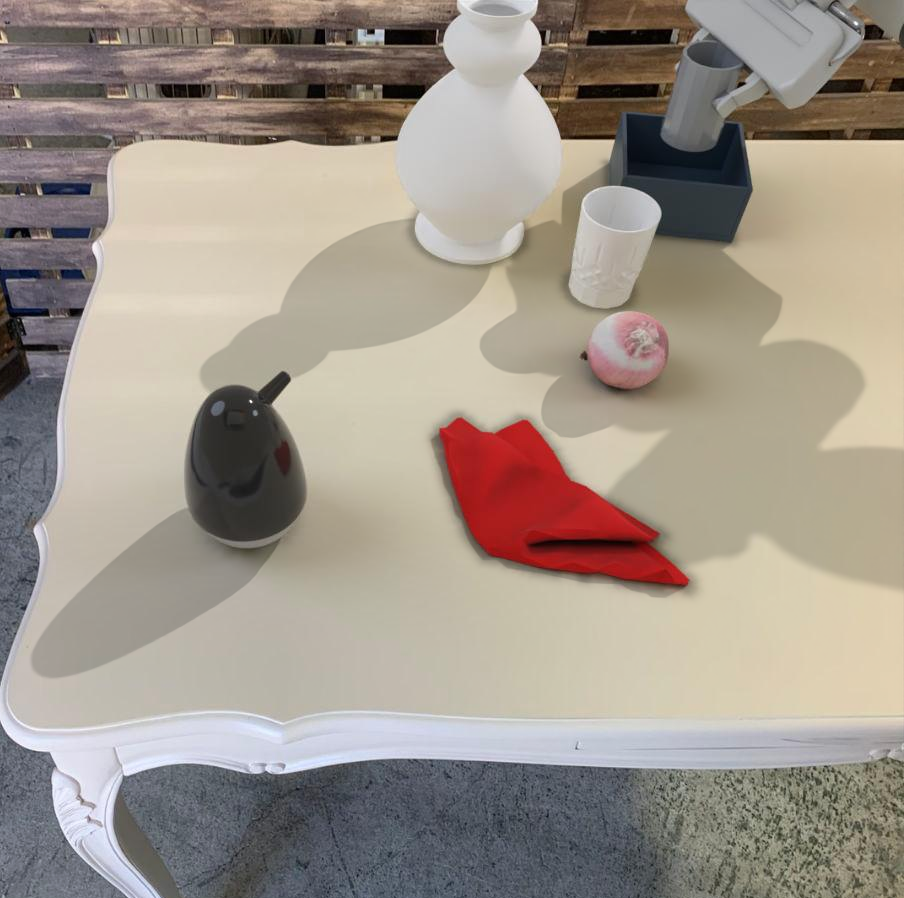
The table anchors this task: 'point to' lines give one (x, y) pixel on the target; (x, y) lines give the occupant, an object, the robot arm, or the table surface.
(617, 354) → the onion
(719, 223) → the basket
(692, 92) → the steel cup
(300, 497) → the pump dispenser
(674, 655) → the table surface
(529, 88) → the decorative vase
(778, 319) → the table surface
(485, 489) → the cloth
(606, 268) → the white cup
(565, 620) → the table surface
